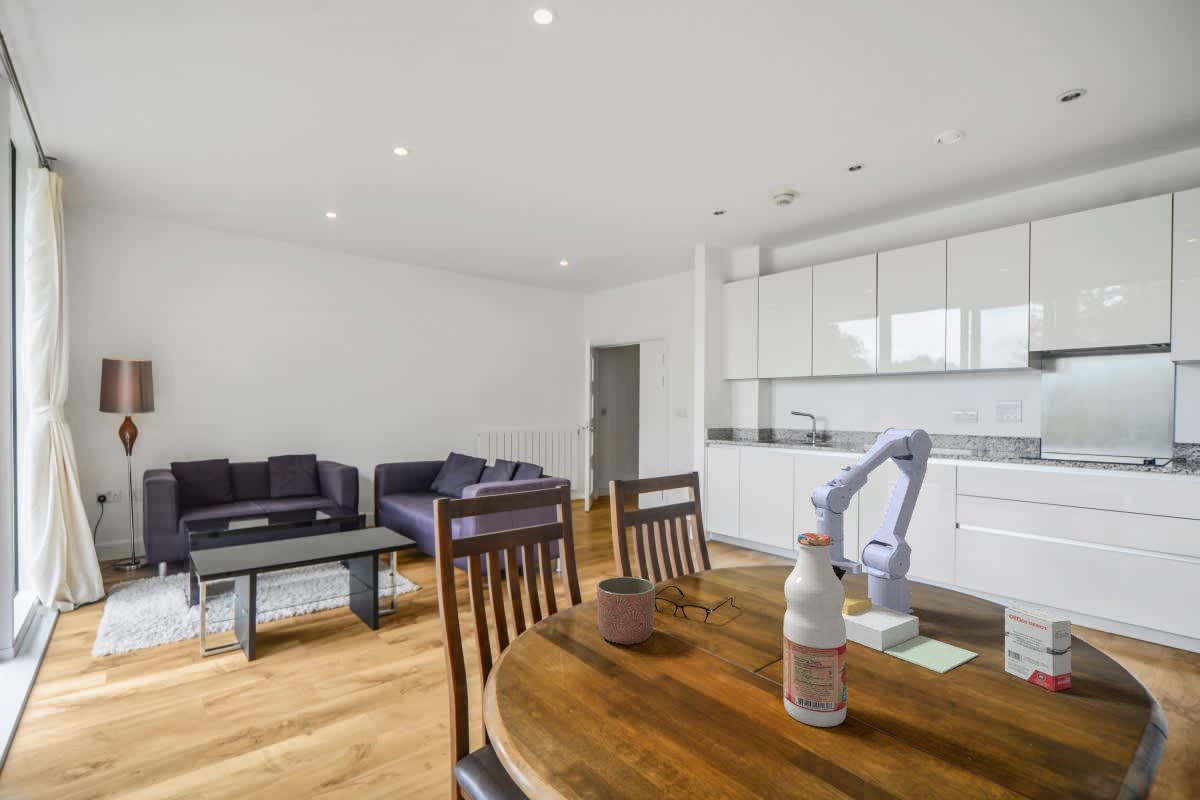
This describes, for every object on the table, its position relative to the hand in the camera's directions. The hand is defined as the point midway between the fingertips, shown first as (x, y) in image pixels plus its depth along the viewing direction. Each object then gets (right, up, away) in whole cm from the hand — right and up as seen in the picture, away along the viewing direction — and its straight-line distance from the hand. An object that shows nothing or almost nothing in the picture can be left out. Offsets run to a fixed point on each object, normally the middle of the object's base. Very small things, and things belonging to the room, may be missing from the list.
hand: (830, 597), depth 133 cm
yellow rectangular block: (+2, -1, -4) cm, 4 cm away
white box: (+3, -5, -4) cm, 7 cm away
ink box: (+25, -5, -29) cm, 39 cm away
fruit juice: (-19, -5, -41) cm, 45 cm away
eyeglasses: (-30, -6, +7) cm, 31 cm away
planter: (-47, -5, -10) cm, 49 cm away
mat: (+12, -5, -19) cm, 23 cm away
